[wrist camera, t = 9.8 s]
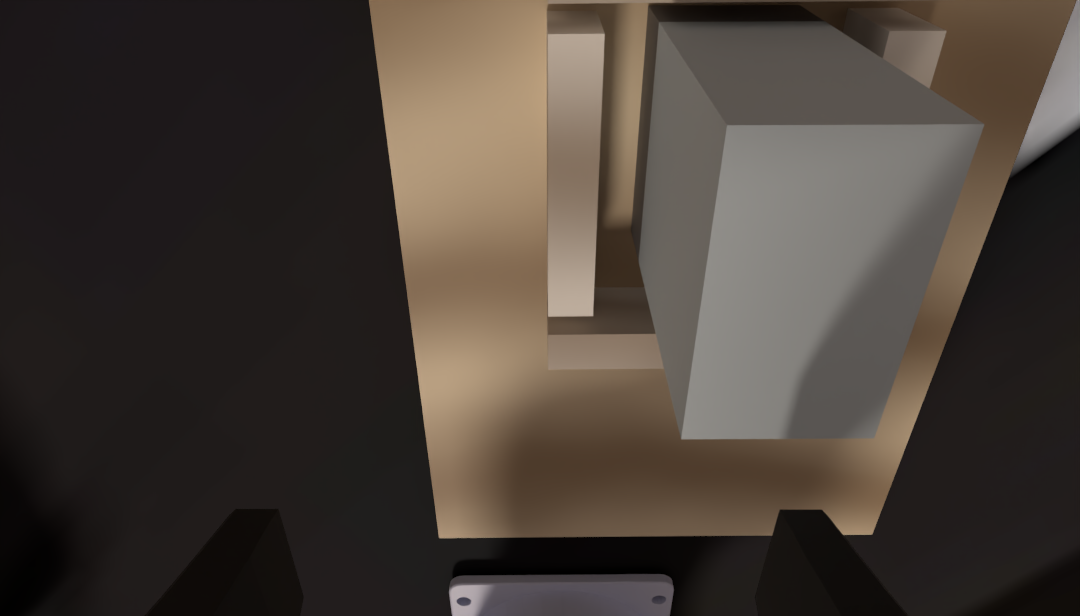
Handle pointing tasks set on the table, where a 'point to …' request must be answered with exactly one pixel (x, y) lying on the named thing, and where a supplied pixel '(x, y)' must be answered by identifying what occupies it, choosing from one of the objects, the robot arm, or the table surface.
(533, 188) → the birch board
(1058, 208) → the table surface
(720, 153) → the peg
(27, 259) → the table surface
